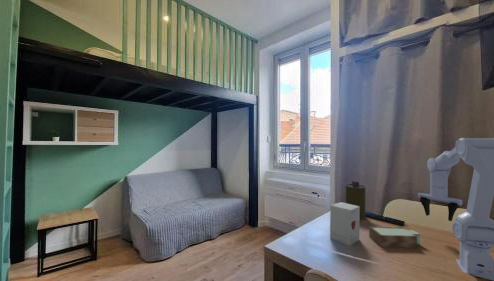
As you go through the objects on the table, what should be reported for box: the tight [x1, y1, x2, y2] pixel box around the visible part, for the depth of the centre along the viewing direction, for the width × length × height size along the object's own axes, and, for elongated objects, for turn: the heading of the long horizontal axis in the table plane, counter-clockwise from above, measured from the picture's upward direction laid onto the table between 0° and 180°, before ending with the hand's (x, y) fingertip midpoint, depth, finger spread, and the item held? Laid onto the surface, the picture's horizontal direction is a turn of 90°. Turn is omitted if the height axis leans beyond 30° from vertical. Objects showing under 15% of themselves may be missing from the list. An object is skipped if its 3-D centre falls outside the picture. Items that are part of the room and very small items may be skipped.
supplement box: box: [329, 201, 360, 246], centre depth 94 cm, size 9×9×15 cm
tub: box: [368, 226, 418, 249], centre depth 91 cm, size 14×9×5 cm, turn 87°
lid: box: [373, 228, 421, 245], centre depth 91 cm, size 16×7×4 cm, turn 87°
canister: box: [344, 180, 367, 221], centre depth 124 cm, size 11×10×20 cm
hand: (438, 217), depth 94 cm, fingers open, 7 cm apart
